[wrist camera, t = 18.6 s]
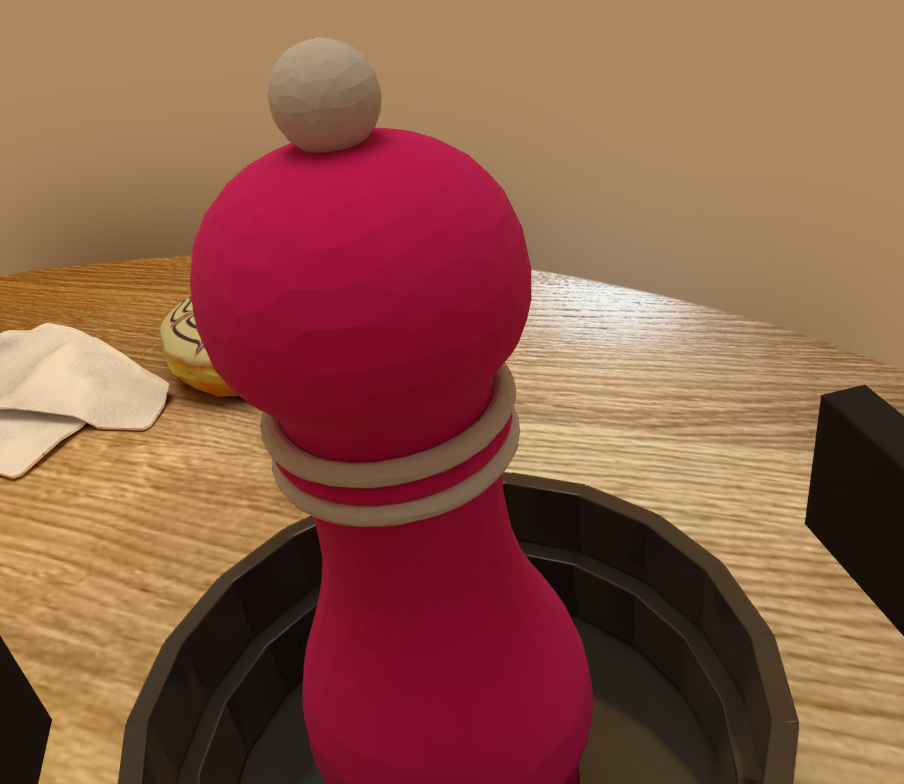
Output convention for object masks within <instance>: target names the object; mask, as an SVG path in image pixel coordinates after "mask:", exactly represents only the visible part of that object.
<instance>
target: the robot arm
mask: <svg viewBox="0 0 904 784" xmlns="http://www.w3.org/2000/svg"><path fill="white" fill-rule="evenodd" d="M805 525H806V526H807V527H808V528H809V529H810V530H811V531H812V532H813V534H814V535H815V536H816V537H817V538H818V539H819V540H820V542H821V543H822V544H823V545H824V546H825V547H826V548H827V550H828V551H829V552H830V553H831V554H832V555H833V556H834V558H835V559H836V560H837V561H838V562H839V563H840V564H841V565H842V567H843V568H844V569H845V570H846V571H847V572H848V573H849V575H850V576H851V577H852V578H853V579H854V580H855V581H856V583H857V584H858V585H859V586H860V587H861V588H862V589H863V591H864V592H865V593H866V594H867V595H868V596H869V597H870V598H871V600H872V601H873V602H874V603H875V604H876V605H877V606H878V608H879V609H880V610H881V611H882V612H883V613H884V614H885V616H886V617H887V618H888V619H889V620H890V621H891V622H892V624H893V625H894V626H895V627H896V628H897V629H898V630H899V631H900V633H901V634H902V635H903V636H904V416H903V415H902V414H901V413H899V412H898V411H897V410H896V409H894V408H893V407H892V406H891V405H889V404H888V403H887V402H886V401H884V400H883V399H882V398H881V397H880V396H878V395H877V394H876V393H875V392H873V391H872V390H871V389H870V388H868V387H867V386H866V385H862V386H857V387H853V388H849V389H845V390H841V391H837V392H833V393H829V394H824V395H821V402H820V409H819V417H818V425H817V433H816V441H815V448H814V456H813V464H812V472H811V479H810V487H809V495H808V503H807V511H806V518H805ZM51 722H52V719H51V717H50V716H49V714H48V712H47V711H46V709H45V707H44V706H43V704H42V703H41V701H40V699H39V698H38V696H37V694H36V693H35V691H34V690H33V688H32V686H31V685H30V683H29V682H28V680H27V678H26V677H25V675H24V673H23V672H22V670H21V669H20V667H19V665H18V664H17V662H16V660H15V659H14V657H13V656H12V654H11V652H10V651H9V649H8V647H7V646H6V644H5V643H4V641H3V639H2V638H1V636H0V784H38V782H39V777H40V773H41V768H42V764H43V759H44V754H45V750H46V745H47V741H48V736H49V731H50V727H51Z"/></svg>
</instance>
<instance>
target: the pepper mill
mask: <svg viewBox="0 0 904 784" xmlns="http://www.w3.org/2000/svg"><path fill="white" fill-rule="evenodd" d="M268 98H269V105H270V111H271V113H272V117H273V119H274V121H275V123H276V125H277V127H278V128H279V129H280V131H281V132H282V133H283V134H284V135H285V137H286V138H287V139H288V140H289V141H290V142H291V143H290V144H288V145H285V146H283V147H281V148H279V149H276V150H273V151H272V152H270V153H268V154H267V155H265V156H263V157H262V158H260V159H258V160H257V161H255V162H253V163H251V164H250V165H248V166H247V167H245V168H244V169H243V170H242V171H241V172H240V173H239V174H237V175H236V176H235V177H234V178H233V179H232V180H231V181H230V182H228V183H227V184H226V186H225V187H224V189H223V190H222V191H221V193H220V194H219V195H218V197H217V198H216V200H215V201H214V202H213V204H212V205H211V206H210V208H209V209H208V211H207V212H206V213H205V215H204V218H203V220H202V223H201V225H200V228H199V231H198V233H197V236H196V239H195V242H194V244H193V251H192V263H191V275H190V288H191V298H192V307H193V314H194V319H195V323H196V328H197V332H198V334H199V336H200V338H201V341H202V343H203V345H204V347H205V350H206V352H207V354H208V356H209V359H210V361H211V363H212V365H213V368H214V370H215V371H216V372H217V373H218V374H219V376H220V377H221V378H222V379H223V380H224V382H225V383H226V384H227V385H228V386H229V388H230V389H231V390H233V391H234V392H235V393H236V394H238V395H239V396H240V397H241V398H243V399H244V400H245V401H246V402H248V403H249V404H251V405H252V406H254V407H256V408H258V409H260V410H262V411H263V413H262V418H261V425H260V427H261V435H262V440H263V443H264V445H265V447H266V449H267V451H268V452H269V454H270V456H271V457H272V471H273V475H274V478H275V481H276V483H277V485H278V488H279V489H280V491H281V492H282V493H283V494H284V495H285V497H286V498H287V499H288V500H289V501H290V502H291V503H292V504H294V505H295V506H296V507H297V508H299V509H300V510H302V511H304V512H306V513H308V514H310V515H312V516H313V518H314V520H315V522H316V527H317V532H318V537H319V542H320V547H321V552H322V557H323V562H322V583H321V589H320V594H319V599H318V604H317V609H316V612H315V616H314V620H313V624H312V628H311V632H310V635H309V639H308V643H307V648H306V654H305V660H304V673H303V713H304V718H305V723H306V727H307V732H308V737H309V742H310V747H311V750H312V754H313V757H314V760H315V764H316V766H317V768H318V770H319V772H320V774H321V776H322V778H323V780H324V782H325V783H326V784H580V773H579V761H580V759H581V757H582V754H583V752H584V749H585V747H586V744H587V741H588V736H589V732H590V727H591V722H592V713H593V693H592V683H591V678H590V672H589V667H588V662H587V658H586V654H585V650H584V646H583V642H582V639H581V637H580V635H579V633H578V631H577V629H576V627H575V625H574V623H573V621H572V619H571V617H570V615H569V613H568V611H567V609H566V607H565V605H564V604H563V602H562V601H561V599H560V598H559V596H558V595H557V593H556V592H555V591H554V589H553V588H552V587H551V586H550V584H549V583H548V582H547V581H546V579H545V578H544V577H543V576H542V574H541V573H540V572H539V571H538V570H537V569H536V568H535V567H534V566H533V565H532V564H531V562H530V561H529V560H528V558H527V557H526V555H525V554H524V553H523V551H522V550H521V548H520V546H519V544H518V541H517V539H516V537H515V535H514V532H513V530H512V528H511V524H510V519H509V515H508V510H507V505H506V501H505V496H504V492H503V477H502V473H503V472H504V471H505V470H506V468H507V467H508V465H509V463H510V462H511V460H512V458H513V457H514V455H515V452H516V450H517V447H518V441H519V434H520V426H519V418H518V416H517V413H516V411H515V408H514V403H515V398H516V388H515V382H514V379H513V376H512V374H511V372H510V370H509V368H508V366H507V365H506V364H505V361H506V360H507V359H508V358H509V356H510V355H511V354H512V353H513V351H514V349H515V348H516V346H517V344H518V342H519V340H520V337H521V334H522V332H523V329H524V326H525V323H526V321H527V317H528V312H529V308H530V303H531V266H530V261H529V256H528V252H527V247H526V243H525V238H524V234H523V229H522V226H521V224H520V222H519V220H518V218H517V216H516V214H515V212H514V210H513V207H512V206H511V203H510V201H509V199H508V198H507V195H506V193H505V191H504V190H503V189H502V187H501V186H500V185H499V184H498V183H497V182H496V181H495V180H494V179H493V177H492V176H491V175H490V174H489V173H488V172H487V171H486V170H485V169H483V168H482V167H481V166H480V165H479V164H478V163H477V162H476V161H475V160H474V159H472V158H471V157H470V156H469V155H467V154H465V153H464V152H462V151H460V150H458V149H456V148H454V147H452V146H450V145H448V144H446V143H444V142H442V141H440V140H438V139H436V138H433V137H430V136H426V135H422V134H419V133H416V132H412V131H407V130H398V129H388V128H374V127H375V126H376V123H377V120H378V117H379V114H380V109H381V91H380V86H379V83H378V80H377V77H376V73H375V71H374V70H373V68H372V67H371V66H370V64H369V63H368V61H367V60H366V58H365V57H364V56H363V55H362V54H361V53H360V52H359V51H358V50H357V49H355V48H353V47H352V46H351V45H349V44H347V43H344V42H341V41H337V40H334V39H329V38H313V39H310V40H307V41H303V42H301V43H298V44H296V45H295V46H293V47H291V48H290V49H288V50H287V51H286V52H285V53H284V55H283V56H282V57H281V58H280V59H279V60H278V62H277V63H276V65H275V67H274V69H273V72H272V76H271V79H270V83H269V91H268Z"/></svg>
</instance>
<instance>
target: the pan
mask: <svg viewBox="0 0 904 784" xmlns="http://www.w3.org/2000/svg"><path fill="white" fill-rule="evenodd" d="M502 477H503V492H504V496H505V501H506V505H507V510H508V515H509V519H510V524H511V528H512V530H513V532H514V535H515V537H516V539H517V541H518V544H519V546H520V548H521V550H522V551H523V553H524V554H525V555H526V557H527V558H528V560H529V561H530V562H531V564H532V565H533V566H534V567H535V568H536V569H537V570H538V571H539V572H540V573H541V574H542V576H543V577H544V578H545V579H546V581H547V582H548V583H549V584H550V586H551V587H552V588H553V589H554V591H555V592H556V593H557V595H558V596H559V598H560V599H561V601H562V602H563V604H564V605H565V607H566V609H567V611H568V613H569V615H570V617H571V619H572V621H573V623H574V625H575V627H576V629H577V631H578V633H579V635H580V637H581V639H582V642H583V646H584V650H585V654H586V658H587V662H588V667H589V672H590V678H591V683H592V693H593V713H592V722H591V727H590V732H589V736H588V741H587V744H586V747H585V749H584V752H583V754H582V757H581V759H580V761H579V773H580V784H793V782H794V773H795V764H796V754H797V745H798V735H799V721H798V717H797V713H796V710H795V706H794V703H793V699H792V696H791V692H790V689H789V685H788V682H787V678H786V674H785V671H784V667H783V664H782V660H781V657H780V653H779V650H778V646H777V642H776V639H775V635H774V634H773V633H772V631H771V629H770V628H769V626H768V625H767V624H766V622H765V621H764V620H763V618H762V617H761V615H760V614H759V613H758V611H757V610H756V608H755V607H754V606H753V604H752V603H751V601H750V600H749V599H748V597H747V596H746V594H745V593H744V592H743V590H742V589H741V587H740V586H739V585H738V583H737V582H736V580H735V579H734V578H733V576H732V575H731V573H730V572H729V571H728V569H727V568H726V566H725V565H724V564H723V563H722V562H721V561H720V560H719V559H717V558H716V557H715V556H713V555H712V554H711V553H709V552H708V551H707V550H705V549H704V548H703V547H701V546H700V545H699V544H697V543H696V542H695V541H694V540H692V539H691V538H690V537H688V536H687V535H686V534H684V533H683V532H682V531H680V530H679V529H678V528H676V527H675V526H674V525H672V524H671V523H670V522H668V521H667V520H666V519H664V518H663V517H662V516H661V515H658V514H656V513H654V512H652V511H649V510H647V509H644V508H642V507H639V506H637V505H634V504H632V503H630V502H627V501H625V500H622V499H620V498H617V497H615V496H613V495H610V494H608V493H605V492H603V491H600V490H598V489H595V488H593V487H591V486H588V485H587V486H586V485H585V484H579V483H573V482H567V481H561V480H555V479H549V478H543V477H537V476H530V475H524V474H518V473H509V472H503V473H502ZM322 562H323V557H322V552H321V547H320V542H319V537H318V532H317V527H316V522H315V520H314V518H313V516H312V515H311V516H309V517H307V518H305V519H302V520H300V521H298V522H296V523H294V524H292V525H289V526H287V527H286V529H285V528H284V529H282V530H281V531H280V532H278V533H277V534H276V535H274V536H273V537H272V538H270V539H269V540H268V541H266V542H265V543H264V544H262V545H261V546H260V547H258V548H257V549H256V550H254V551H253V552H252V553H250V554H249V555H248V556H246V557H245V558H243V559H242V560H241V561H239V562H238V563H237V564H235V565H234V566H233V567H231V568H230V569H229V570H227V571H226V572H225V573H223V574H222V575H221V576H220V578H218V579H217V580H216V581H215V582H214V583H213V584H212V586H211V587H210V588H209V589H208V590H207V592H206V593H205V594H204V595H203V596H202V597H201V599H200V600H199V601H198V602H197V603H196V605H195V606H194V607H193V608H192V609H191V610H190V612H189V613H188V614H187V615H186V616H185V618H184V619H183V620H182V621H181V622H180V623H179V625H178V626H177V627H176V628H175V629H174V631H173V632H172V633H171V634H170V635H169V636H168V638H167V639H166V640H165V643H163V645H162V647H161V649H160V651H159V653H158V655H157V657H156V660H155V662H154V664H153V666H152V668H151V670H150V672H149V675H148V677H147V679H146V681H145V683H144V685H143V687H142V689H141V692H140V694H139V696H138V698H137V700H136V702H135V704H134V706H133V709H132V711H131V713H130V715H129V717H128V719H127V724H126V725H125V732H124V740H123V747H122V755H121V763H120V771H119V779H118V784H326V783H325V782H324V780H323V778H322V776H321V774H320V772H319V770H318V768H317V766H316V764H315V760H314V757H313V754H312V750H311V747H310V742H309V737H308V732H307V727H306V723H305V718H304V713H303V673H304V660H305V654H306V648H307V643H308V639H309V635H310V632H311V628H312V624H313V620H314V616H315V612H316V609H317V604H318V599H319V594H320V589H321V583H322Z"/></svg>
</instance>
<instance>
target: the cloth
mask: <svg viewBox="0 0 904 784" xmlns="http://www.w3.org/2000/svg"><path fill="white" fill-rule="evenodd" d="M169 384H170V383H168V382H166V381H165V380H163V379H162V378H160V377H158V376H157V375H155V374H153V373H151V372H149V371H147V370H145V369H144V368H142V367H141V366H140V365H138V364H137V363H135V362H134V361H133V360H131V359H130V358H128V357H127V356H125V355H124V354H123V353H121V352H119V351H117V350H116V349H114V348H113V347H111V346H109V345H108V344H106V343H105V342H103V341H101V340H100V339H98V338H96V337H91V336H89V335H88V334H86V333H84V332H82V331H80V330H77V329H75V328H72V327H67V326H62V325H56V324H51V323H45V324H43V325H40V326H38V327H36V328H34V329H32V330H30V331H21V330H8V331H5V332H2V333H0V475H2V476H5V477H9V478H12V479H14V478H17V477H19V476H22V475H23V474H24V473H26V472H27V471H28V470H29V469H30V468H31V467H32V466H33V465H35V464H36V463H37V462H38V461H39V460H40V459H41V458H42V457H43V456H45V455H46V454H47V453H48V452H49V451H50V450H51V449H52V448H54V447H55V446H56V445H57V444H58V443H59V442H60V441H61V440H63V439H65V438H66V437H68V436H70V435H71V434H73V433H75V432H76V431H78V430H79V429H81V428H82V427H83V426H84V425H85V424H86V423H88V424H90V425H92V426H94V427H96V428H98V429H111V430H140V431H144V430H146V429H148V428H149V427H151V426H152V425H153V423H154V422H155V420H156V419H157V417H158V416H159V414H160V413H161V411H162V410H163V408H164V407H165V403H166V398H167V393H168V388H169Z"/></svg>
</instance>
